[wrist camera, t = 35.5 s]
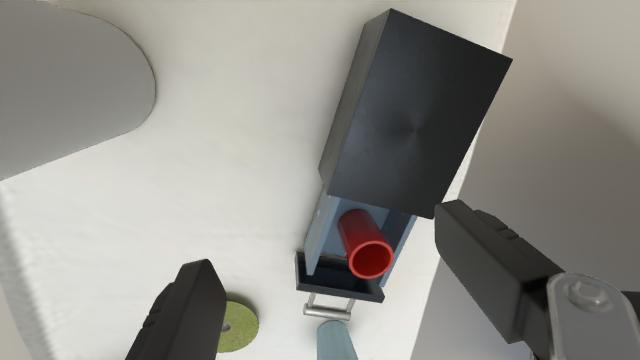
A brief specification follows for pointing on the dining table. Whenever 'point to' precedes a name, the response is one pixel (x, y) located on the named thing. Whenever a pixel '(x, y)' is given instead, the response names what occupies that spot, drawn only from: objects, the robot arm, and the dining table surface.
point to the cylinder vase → (65, 84)
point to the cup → (334, 342)
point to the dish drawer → (336, 273)
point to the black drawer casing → (408, 114)
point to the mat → (237, 328)
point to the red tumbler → (364, 244)
